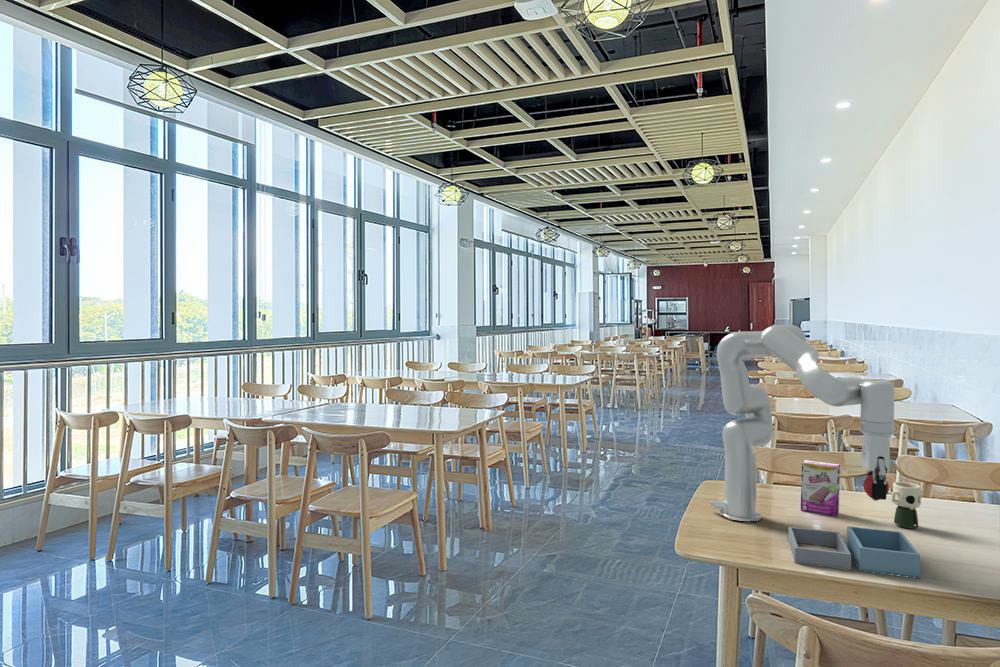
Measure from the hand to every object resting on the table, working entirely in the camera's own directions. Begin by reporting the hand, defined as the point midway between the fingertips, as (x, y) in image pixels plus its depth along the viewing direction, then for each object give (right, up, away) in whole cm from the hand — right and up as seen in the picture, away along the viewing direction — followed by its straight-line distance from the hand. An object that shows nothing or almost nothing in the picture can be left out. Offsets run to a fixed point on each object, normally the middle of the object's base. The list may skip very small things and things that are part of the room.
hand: (876, 494), depth 160 cm
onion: (0, -2, 0) cm, 2 cm away
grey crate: (-13, -18, +5) cm, 22 cm away
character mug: (+26, -17, +27) cm, 42 cm away
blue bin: (+1, -18, 0) cm, 18 cm away
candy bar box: (+7, -17, +41) cm, 45 cm away
